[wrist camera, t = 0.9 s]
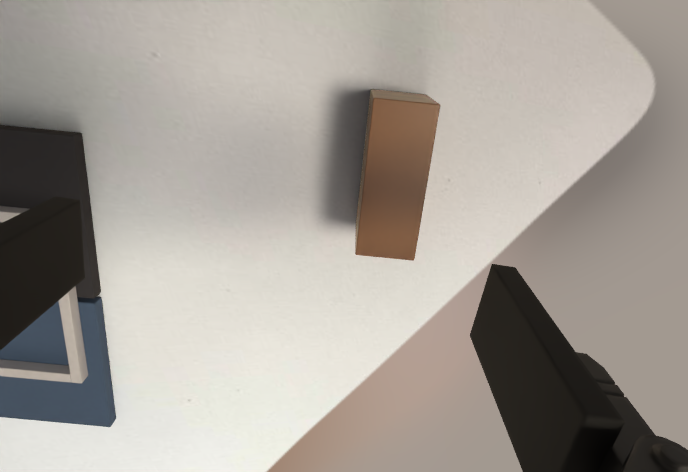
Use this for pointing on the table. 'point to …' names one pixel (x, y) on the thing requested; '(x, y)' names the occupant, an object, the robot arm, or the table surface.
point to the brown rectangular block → (394, 173)
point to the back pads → (71, 310)
